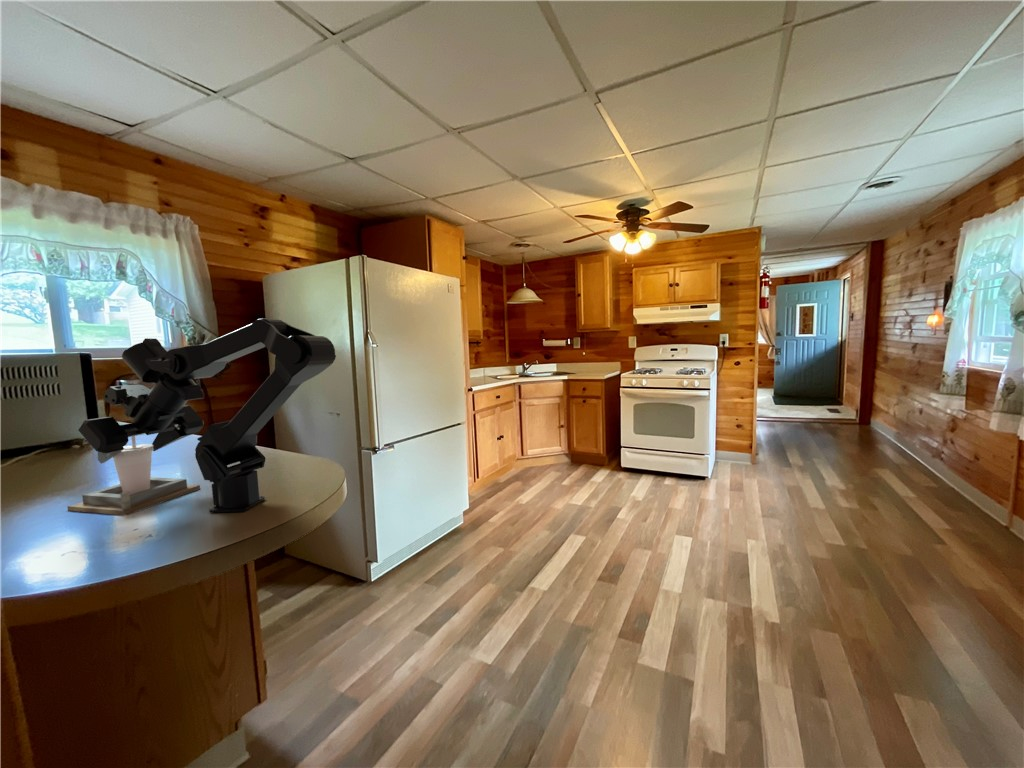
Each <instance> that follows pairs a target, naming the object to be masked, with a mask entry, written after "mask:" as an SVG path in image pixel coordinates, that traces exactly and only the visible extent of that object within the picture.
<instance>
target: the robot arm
mask: <svg viewBox="0 0 1024 768" xmlns="http://www.w3.org/2000/svg"><path fill="white" fill-rule="evenodd" d="M264 348H266V349H267V350H268V352H269V353H270V354H272V355H274V356H275V357H274V370H273V371H272V372H271V373H270V374H269V376H267V377H266V379H265V381H263V383H262V384H260V386H259V387H258V388H257V390H256V391H255V392H254V393H253V395H252V396H251V397H250V398H249V399H248V400H247V401H246V403H245V404H244V405H243V406H242V408H240V410H239V411H238V412H237V413H236V414H235V416H234V417H233V418H232V419H231V420H226V421H221V422H218V423H213V424H210V425H209V426H208V427H207V428H206V430H205V432H204V433H203V434H202V435H201V436H199V437H197V438H196V439H197V441H199V442H198V443H197V445H196V446H195V450H194V451H195V454H194V455H195V456H194V457H195V460H196V463H197V465H198V468H199V470H200V472H201V476H202V478H203V480H204V481H209V482H210V483H211V491H212V504H213V507H211V508H209V509H208V510H209V511H208V512H209V513H235V512H236V513H237V512H238V513H239V512H241V513H243V512H245V511H247V510H249V509H251V508H252V507H254V506H256V505H257V504H259V503H261V502H262V501H264V500H265V499H266V497H265V496H261V495H260V490H259V477H258V470H259V469H263V468H264V467H265V463H266V460H267V459H266V457H265V455H264V454H263V453H262V452H261V451H260V450H259V449H258V448H257V447H256V446H257V444H258V434H259V432H260V431H261V430H262V429H263V428H264V426H266V425H267V423H269V422H270V420H271V419H272V417H273V416H274V415H275V414H277V412H278V411H279V409H281V408H282V407H283V405H284V404H285V403H286V402H287V401H288V400H289V398H290V397H291V396H292V395H293V394H294V393H295V392H296V391H297V390H298V388H299V387H300V386H301V385H302V384H303V383H305V382H306V381H309V380H310V379H312V378H314V377H316V376H318V375H320V374H321V373H322V372H324V371H325V370H327V369H328V368H329V367H330V366H331V365H333V364H334V362H335V360H336V357H337V355H336V349H335V346H334V344H333V342H332V341H331V339H329V338H328V337H327V336H324V335H323V336H322V335H320V336H319V335H315V334H313V333H310V332H308V331H307V330H303V329H300V328H298V327H295V326H292V325H291V324H289V323H288V322H286V321H283V320H282V319H275V318H266V317H265V318H263V317H262V318H258V319H255V320H254V321H252V323H250V324H247V325H245V326H243V327H240V328H238V329H236V330H234V331H231V332H228V333H226V334H224V335H222V336H220V337H217V338H215V339H213V340H211V341H208V342H206V343H204V342H203V343H200V344H190V345H184V346H179V347H178V346H177V347H173V348H169V350H168V351H167V350H166V348H164V346H163V345H162V343H161V342H160V341H159V340H158V339H157V338H144V339H143V341H142V342H138V343H136V344H133V345H132V346H130V347H128V348H126V349H124V351H123V352H122V354H121V358H122V360H123V362H124V363H125V365H127V366H128V367H129V368H130V369H131V370H132V372H133V373H134V374H135V375H136V376H137V377H138V378H139V380H141V382H143V383H149V384H152V383H154V385H153V386H152V388H149V387H147V386H145V385H142V384H126V385H114V386H113V385H112V386H109V387H108V388H107V390H106V391H105V392H104V395H103V399H104V401H105V402H106V403H108V404H110V405H111V406H119V407H122V408H123V409H125V411H124V415H125V416H126V417H127V418H131V423H126V424H125V423H124V424H119V423H118V421H117V420H116V419H115V418H114V416H105V417H97V418H90V419H85V420H83V422H82V424H81V425H80V427H79V429H78V432H79V433H80V435H82V437H83V438H84V439H85V440H86V441H87V442H88V444H90V446H91V447H92V448H93V449H94V450H95V451H96V452H97V461H98V462H99V463H100V464H105V463H106V462H108V461H110V459H113V457H114V456H115V455H116V454H118V453H119V452H121V451H122V450H123V449H124V448H123V447H124V446H127V444H128V443H129V438H131V437H132V436H135V437H136V436H142V435H146V436H150V435H156V434H157V435H156V436H155V438H154V439H153V442H152V443H151V444H152V445H153V449H154V450H153V451H152V452H155V451H158V450H160V449H162V448H164V447H167V446H168V445H171V444H173V443H175V442H177V441H179V440H182V439H184V438H185V437H189V436H193V434H195V433H199V432H200V431H201V430H202V429H203V427H204V424H205V423H204V420H203V419H202V417H200V415H199V414H198V413H197V412H196V411H195V409H193V408H192V406H191V405H186V404H187V402H188V401H193V400H200V399H201V400H202V399H204V398H205V394H204V392H203V390H202V388H201V387H202V386H201V385H200V384H197V383H196V382H195V381H194V380H196V379H207V378H212V377H214V376H215V375H217V374H218V373H220V372H221V371H222V370H223V371H224V369H225V367H226V365H227V364H228V363H229V362H231V361H234V360H237V359H238V358H242V357H243V356H246V355H248V354H251V353H253V352H254V353H255V352H256V351H258V350H261V349H264ZM236 463H237V464H236ZM232 464H233V465H232ZM230 465H231V466H230Z"/></svg>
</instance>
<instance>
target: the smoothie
mask: <svg viewBox="0 0 1024 768" xmlns="http://www.w3.org/2000/svg"><path fill="white" fill-rule="evenodd" d="M130 439H131V445H125V446H123V448H124V449H123V450H122V451H121V452H119V453H118V454H116V455H115V456H114V457H112V459H113V462H114V467H115V470H116V473H117V477H118V481H119V483H120V484H121V488H122V491H123V492H130V495H131V494H134V493H138V492H141V491H144V490H147V489H150V477H151V476H152V475H151V474H152V473H151V471H152V459H153V458H152V455H153V452H154V451H153V450H154V449H153V445H152V443H142V444H140V443H139V444H137V443H136V436H132V437H130Z"/></svg>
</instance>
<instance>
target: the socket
mask: <svg viewBox="0 0 1024 768" xmlns="http://www.w3.org/2000/svg"><path fill="white" fill-rule="evenodd" d="M198 490H201V485H200V484H189V483H188V480H187V478H173V477H172V478H170V477H156V476H155V477H153V476H152V477H151V476H150V489H147V490H144V491H141V492H138V493H134V494H131V495H130V492H123V491H122V488H121V484H117V485H113V486H109V487H106V488H103V489H99V490H95V491H91V492H87V493H85V494H82V495H81V497H82V501H80V502H77V503H74V504H71V505H67V511H70V512H80V511H82V513H83V512H84V513H94V514H105V515H107V514H108V515H115V516H116V515H117V516H128V515H130V514H133V513H136V512H139V511H142V510H144V509H148V508H150V507H152V506H156V505H158V504H162V503H165V502H167V501H170V500H173V499H175V498H178V497H180V496H183V495H187V494H189V493H192V492H195V491H198Z"/></svg>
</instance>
